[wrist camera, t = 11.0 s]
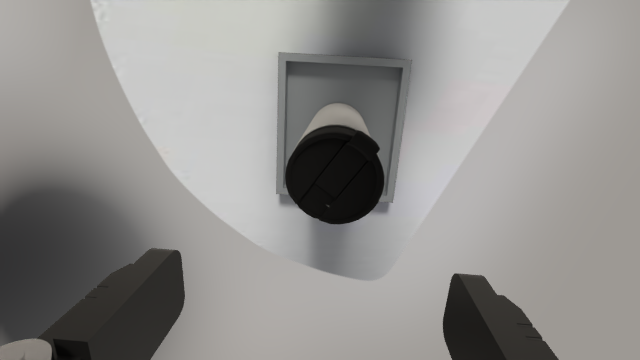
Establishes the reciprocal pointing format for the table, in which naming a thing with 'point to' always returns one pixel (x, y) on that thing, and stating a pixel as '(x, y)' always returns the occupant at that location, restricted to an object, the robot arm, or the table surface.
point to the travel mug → (335, 167)
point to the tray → (342, 87)
